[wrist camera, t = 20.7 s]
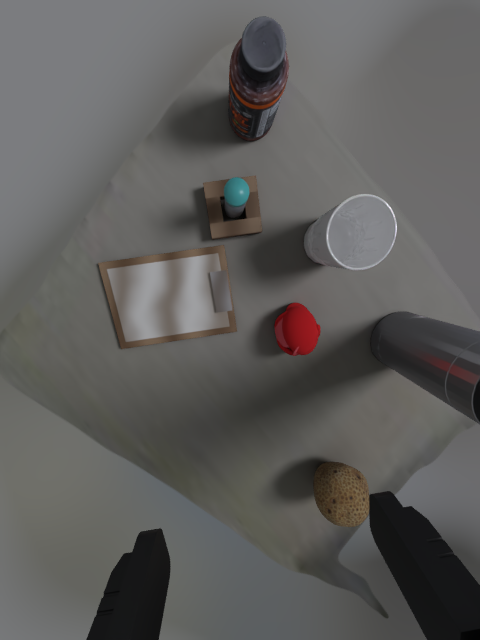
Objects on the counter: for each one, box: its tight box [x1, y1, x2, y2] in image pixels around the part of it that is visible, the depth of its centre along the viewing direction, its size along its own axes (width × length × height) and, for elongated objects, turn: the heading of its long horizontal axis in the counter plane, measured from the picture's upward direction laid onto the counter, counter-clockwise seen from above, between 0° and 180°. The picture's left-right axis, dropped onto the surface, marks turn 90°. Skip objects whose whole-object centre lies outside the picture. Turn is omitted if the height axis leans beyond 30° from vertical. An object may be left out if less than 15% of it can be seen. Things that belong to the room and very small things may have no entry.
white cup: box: [304, 194, 397, 270], centre depth 32 cm, size 8×8×10 cm
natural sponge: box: [314, 462, 369, 527], centre depth 41 cm, size 9×9×10 cm
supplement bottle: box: [228, 17, 289, 141], centre depth 27 cm, size 6×6×11 cm
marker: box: [224, 177, 249, 218], centre depth 30 cm, size 3×3×9 cm
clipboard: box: [98, 245, 237, 349], centre depth 37 cm, size 18×13×1 cm
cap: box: [274, 303, 320, 356], centre depth 37 cm, size 8×6×6 cm
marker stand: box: [203, 176, 262, 240], centre depth 34 cm, size 7×7×2 cm
